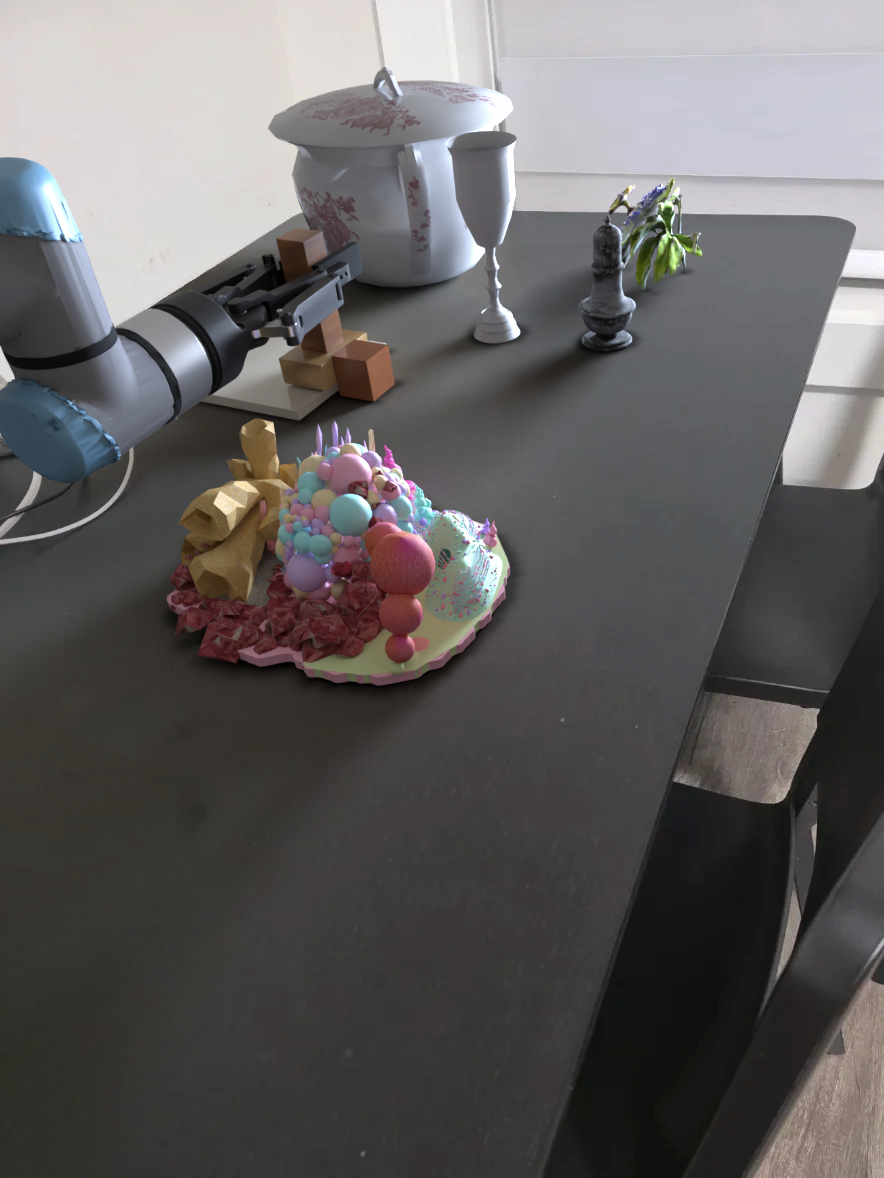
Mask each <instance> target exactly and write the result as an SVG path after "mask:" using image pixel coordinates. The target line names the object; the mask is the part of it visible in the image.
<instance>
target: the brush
mask: <svg viewBox="0 0 884 1178" xmlns="http://www.w3.org/2000/svg"><path fill="white" fill-rule="evenodd" d="M275 241H276V245H277V251H278V254H279V258H280V260H281V263H282V267H283V271H284V275H285V280H286V284H287V283H289V282H291V281H293V280H295V279H297V278H299V277H301V276H303V275H305V274H308V273H310V272H312V271H313V269H312V265H313V264H315V263H317V262H318V261H320V260H322V259H323V258H325V257H327V253H326V248H325V243H324V238H323V233H322V231H315V230H310V229H306V228H298V227H295V228H293V229H291V230H289V231H288V232H285V233H284V234H282V235H280V236H278V237H276V238H275ZM354 339H355V340H361V341H368V335H367V332H365V331H364V332H362V331H356V330H351V329H345V328H342V323H341V319H340V313H339V308H338V309H337V310H335V311H334V312H333V313H332V314H330V315H329V316H328V317H327V318H325V319H324V320H323V321H322V322H320V323H319V324H318V325H316V326H315V327H314V328H313V329H311V330H310V331H309V332H308V333H306V334H305V335H304V338H303V340H302V342H301V344H300V345H297V346H296V347H294V348H293V349H292V350H290V351H289V352H287V353H286V354H284V355H283V356H281V357H280V358H279V363H280V367H281V370H282V374H283V378H284V382H285V383H288V384H293V385H298V386H303V387H309V388H314V389H319V390H325V391H327V390H328V389H329V388H331V387H332V386H333V385H335V384H336V383H337V380H336V376H335V371H334V366H333V362H332V357H331V356H332V355H333V354H334V353H336V352H337V351H339V350H340V349H341V348H343V347H344V346H346V345H347V344H348V343H350V342H351V341H352V340H354Z"/></svg>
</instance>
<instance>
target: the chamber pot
mask: <svg viewBox="0 0 884 1178" xmlns="http://www.w3.org/2000/svg"><path fill="white" fill-rule="evenodd" d="M513 110H514V107H513V103H512V100H511V98H510V97H508V96H507V95H505V94H503V93H501V92H499V91H497V90H494V89H489V88H486V87H483V86H480V85H474V84H470V83H466V82H457V81H456V82H455V81H444V80H443V81H441V80H431V79H430V80H427V79H426V80H425V79H424V80H423V79H422V80H420V79H419V80H415V79H414V80H411V79H410V80H397V79H396V77H395V75H394V73H393V71H392V70H391V69H390V68H388V67H386V66H383V67H382V68H380V69H379V70H378V71H376V74H375V76H374V79H373V82H372V83H366V84H360V85H353V86H350V87H345V88H340V89H335V90H331V91H327V92H324V93H321V94H320V93H319V94H318V95H315V96H311V97H309V98H305V99H302V100H300V101H299V102H296V103H295V104H293V105H290V106H288V107H286V108H285V109H284V110H281V111H279V112H278V113H276V114H274V116H273V117H272V119H271V121H270V123H269V125H268V127H267V130H269V132H270V133H271V134H272V135H273V136H274V138H276V139H277V140H279V141H281V142H285V143H287V144H290V145H293V146H294V147H295V149H296V150H297V152H296V156H295V161H294V165H293V169H292V172H291V177H292V181H293V187H294V190H295V195H296V199H297V202H298V204H299V206H300V209H301V212H302V214H303V217H304V219H305V222H306V224H307V226H308V230H315V231H322V233H323V238H324V239H325V240H326V245H327V249H328V254H329V255H330V254H331V253H333V252H335V251H336V250H338V249H340V248H341V247H343V246H345V245H346V244H348V243H350V242H358V247H359V252H360V258H361V263H362V269H363V273H361V274H360V275H358V276H357V277H355V278H354V279H353V280H356V281H357V282H359V283H362V284H363V283H364V284H368V285H373V286H378V287H384V288H389V289H411V288H422V287H427V286H433V285H437V284H439V283H443V282H445V281H448V280H452V279H453V278H456V277H458V276H460V275H463V274H464V273H466V272H468V271H469V270H471V269H473V268H474V267H475V266H476V264H478V262H479V261H480V259H481V258H482V257H483V256H484V255H485V254H486V252H485V248H483V247H480V246H478V245H477V244H476V242H475V240H474V238H473V237H472V235H471V233H470V231H469V229H468V227H467V225H466V223H465V221H464V219H463V216H462V214H461V211H460V209H459V206H458V204H457V201H456V194H455V184H454V175H453V165H452V156H451V154H450V152H449V150H448V148H447V147H446V145H445V142H446V141H447V140H448V139H450V138H451V137H454V136H457V135H460V134H464V133H469V132H477V131H493V129H494V126H496V125H498V124H500V123H502V121H504V119H506V118H507V117H508V116H509V115H510V114H511V113H512V111H513Z"/></svg>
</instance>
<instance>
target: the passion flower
mask: <svg viewBox="0 0 884 1178" xmlns="http://www.w3.org/2000/svg"><path fill="white" fill-rule="evenodd" d="M675 181H676V178H675V177H670V178H669V179H668V181H667V184H666V185H663V183H662V182H661V183H660V184H659V185H656V186H655V187H654V189H652V190H651V191H648V192H647V194H645V195H644V194H643V195H642V199H640V201H638V202H637V204H636V205H634V206H632V205H630V204H629V202H628V201H627V198H628V197H629V196H630V195H631V194H632V193H633V191H634V190H635V189H636V185H635V184H632V185H629V186H627V188H625V189H624V190H623V191H622V192H621V193H618V194H617V197H616V198H615V199H614V200H613V202H612V204H611V205H610V207H609V209H608V212H607V213H608V214H607V215H608V216H611V215H613V214H614V213H615V212H616V211H617V209H618V208H620V207H621V206H623V207H624V208H626V210H627V213H626V218H625V220H624V222H623V223H622V224H621V225H619V226H617V228H619V230H620V231H621V235H622V244H621V261H622V262H623V263H624V264H625V266H626V265H627V264H628V262H629V260H630V258H631V259H634V257H635V253H636V251H637V250H638V249H639V253H638V255H637V260H636V265H635V280H636V284H637V285H638V286H639V287H641V289H642V290H643V291H645V290H646V285H647V283H646V281H647V279H648V277H649V273H651V270H652V266H653V283H654V284H658V283H660V282H661V281H662V280H663V279H664V278H665V277H666V276H672V275H674V273H675V272H676V271H677V270H678V268H680V266H681V264H682V267H683V270H684V272H685V273H686V272H687V268H686V267H687V266H686V252H687V253H688V254H689V255H693V256H695V257H703V253H702V250H701V248H700V247H699V245H698V240H699V237H700V235H701V234H702V233H701V231H698V232H693V233H692V234H689V235H685V234H682V210H683V209H682V208H683V195H682V194H681V192H680V188H679V187H674V185H675V183H676V182H675ZM673 188H674V191H673V193H672V194H671V192H672V190H673ZM670 194H671V196H670ZM669 196H670V197H669ZM668 199H669V201H667V200H668ZM675 206H677V211H678V213H677V233H673V229H672V228H673V222H674V220H675V215H676V211H675V210H674V208H675ZM658 229H659V230H662V231H659V232H658V231H657V230H658ZM650 232H653V233H655V234H657V235H656V236H650V237H648V238H647V239H645V240H644V241H643V239H644V238H645V237H646V236H647V235H648V234H649V233H650ZM691 237H693V238H691ZM642 241H643V242H642ZM641 243H642V244H641ZM640 244H641V245H640ZM639 246H640V247H639ZM685 251H686V252H685ZM655 252H656V259H655V260H654V256H655ZM653 260H654V263H653Z"/></svg>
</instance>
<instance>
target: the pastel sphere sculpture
mask: <svg viewBox="0 0 884 1178" xmlns="http://www.w3.org/2000/svg"><path fill="white" fill-rule="evenodd" d="M338 427H339V426H338V424H337V422H336V420H334V421H333V423H332V425H331V433H332V444H333V446H329V448H328V443H326V444H325V447H324V455H322V451H323V433H322V430H321V428H320V425H319V424H317V427H316V435H315V439H316V440H315V441H316V443H315V444H316V451H314V453H313V451H312V450H311V452H310V456H308V457H306V458H304V459H303V460H302V461H301V460H300V458H299V456H296V460H297V463H298V466H299V467H297V463H296V462H294V463H285V464H280V460H279V456H278V454H277V452H278V451H277V438H276V432H275V425H274V422H273V421H269V420H266V419H265V420H264V419H260V418H254V419H252V420H250V421H249V422H247V423H245V424H243V425H242V426H241V427H240V429H239V432H238V435H239V440H240V445H241V449H242V451H243V453H244V455H245V457H246V459H242V458H241V459H240V458H233V459H229V460H228V459H227V460H226V463H227V465H228V468H229V471H230V473H231V475H232V477H233V479H234V480H228V481H227V482H226V483H224V484H223V485H221V486H219V487H215V488H211V489H207V490H206V491H204V492H202V494H200V495H198V496H197V497H195V498H194V499H192V501H190V503H189V504H188V506H187V507H186V508H185V510H183V513H182V515H181V517H180V519H179V521H178V522H177V524H178V525H180V526H182V527H184V528H185V529H187V530H189V531H190V532H189V533H188V534H187V535H186V536H185V537H183V538H184V539H183V543H182V546H181V551H180V557H181V563H178V564H177V566H176V568H175V570H174V571H173V573H172V574H171V575H170V577H169V585H170V586H173V587H174V590H173V591H172V592H171V593H169V594H167V596H166V602H167V604H168V608H169V609H170V611H172V612H173V613H176V614H177V615H178V616H177V617H178V618H177V622H176V627H175V632H174V636H173V637H174V638H176V637H179V636H182V635H186V634H189V633H193V632H197V631H200V630H202V629H203V628H205V627H206V630H205V633H204V635H203V638H202V641H201V644H200V647H199V650H198V653H197V656H199V657H204V658H209V659H213V660H218V661H223V662H229V663H233V664H236V663H237V662H238V661H239V659H240V660H242V661H245V662H247V663H249V664H252V665H254V666H258V667H267V666H272V665H276V664H282V663H287V662H288V663H294V665H295V667H296V668H297V669H299V670H302V671H303V672H304V673H305V675H306V676H307V677H308V678H321V679H325V680H327V681H331V682H333V683H335V684H336V683H337V684H341V683H347V682H353V683H354V682H355V683H358V684H372V685H375V686H386V685H390V684H396V683H401V682H406V681H411V680H416V679H419V678H420V677H422V676H423V675H424V674H426V673H427V672H428V671H432V670H437V669H440V668H441V669H442V667H444V666H445V665H446V664H447V662H449V661H450V660H451V658H452V657H454V656H455V655H458V654H461V653H463V652H464V651H465V649H466V648H467V647H469V646H470V644H471V643H472V642H473V641H475V639H476V633H477V632H478V631H480V630H481V629H484V628H485V627H486V626H487V625H488V624H489V623H490V622H491V621H492V615H493V613H494V612H495V611H496V610H497V608H498V607H499V606H500V605H502V603H503V602H504V601H505V600H506V586H507V583H508V581H507V580H508V578H509V577H510V575H511V566H510V562H509V560H508V556H507V554H506V553H505V550H504V548H503V545H502V543H501V541H500V539H499V537H498V535H497V533H498V529H497V528H496V526H495V520H493V521H492V522H491V524H490V522H489V517H486V519H485V521H484V523H481V522H478V521H475V520H472V519H471V517H470V516H468V515H467V514H465V513H463V512H461V511H459V510H454V509H452V510H451V509H446V510H445V509H444V510H443V511H438V510H436V509H435V510H433V509H432V501H431V500H430V499H428V498H427V497H425V494H424V491H423V489H421V487H419V486H418V485H417V484H416V483H415V482H414V481H412V480H407V479H406V480H405V478H404V475H403V470H402V467H400V465H398V464H397V463H396V462H395V460H394V458H393V457H394V455H393V453H392V450H391V449H389V448H388V447H387V446H386V444H383V448H384V450H385V456H384V457H383V459H382V456H381V455H380V456H379V454H378V453H377V452H376V445H375V444H376V442H375V433H374V430H373V429H371V428H369V429H368V434H367V435H368V447H367V444H366V440H365V439H364V440H363V444H362V445H361V444H359V443H356V442H355V443H354V442H352V437H351V433H350V430H349V427H348V426H347V427H346V433H345V438H344V439H343V436H341V437H340V442H339V430H338ZM490 525H491V526H490Z"/></svg>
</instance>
